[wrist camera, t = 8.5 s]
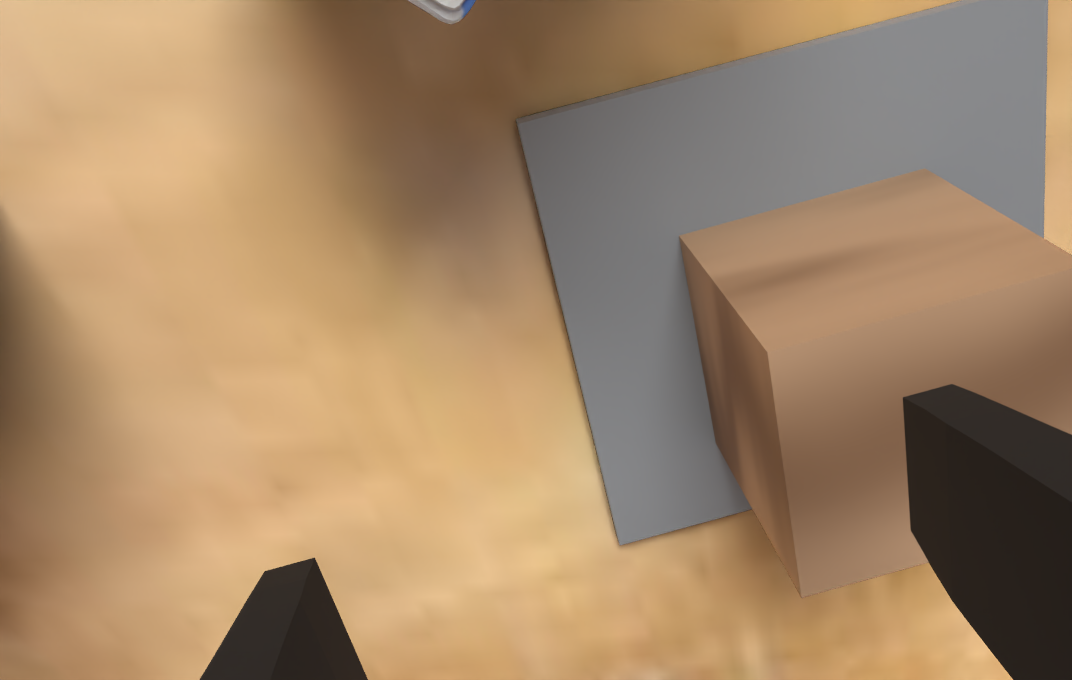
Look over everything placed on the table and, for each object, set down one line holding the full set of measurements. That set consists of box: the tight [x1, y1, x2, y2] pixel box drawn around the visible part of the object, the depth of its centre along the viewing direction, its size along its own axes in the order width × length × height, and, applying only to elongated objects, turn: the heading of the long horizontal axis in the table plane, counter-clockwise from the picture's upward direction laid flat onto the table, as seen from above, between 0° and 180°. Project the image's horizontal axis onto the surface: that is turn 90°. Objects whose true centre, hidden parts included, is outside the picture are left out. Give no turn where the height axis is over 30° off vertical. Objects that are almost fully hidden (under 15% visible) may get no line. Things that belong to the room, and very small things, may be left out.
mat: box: [516, 0, 1048, 545], centre depth 22 cm, size 11×11×1 cm
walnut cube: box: [679, 168, 1072, 598], centre depth 20 cm, size 6×6×6 cm
